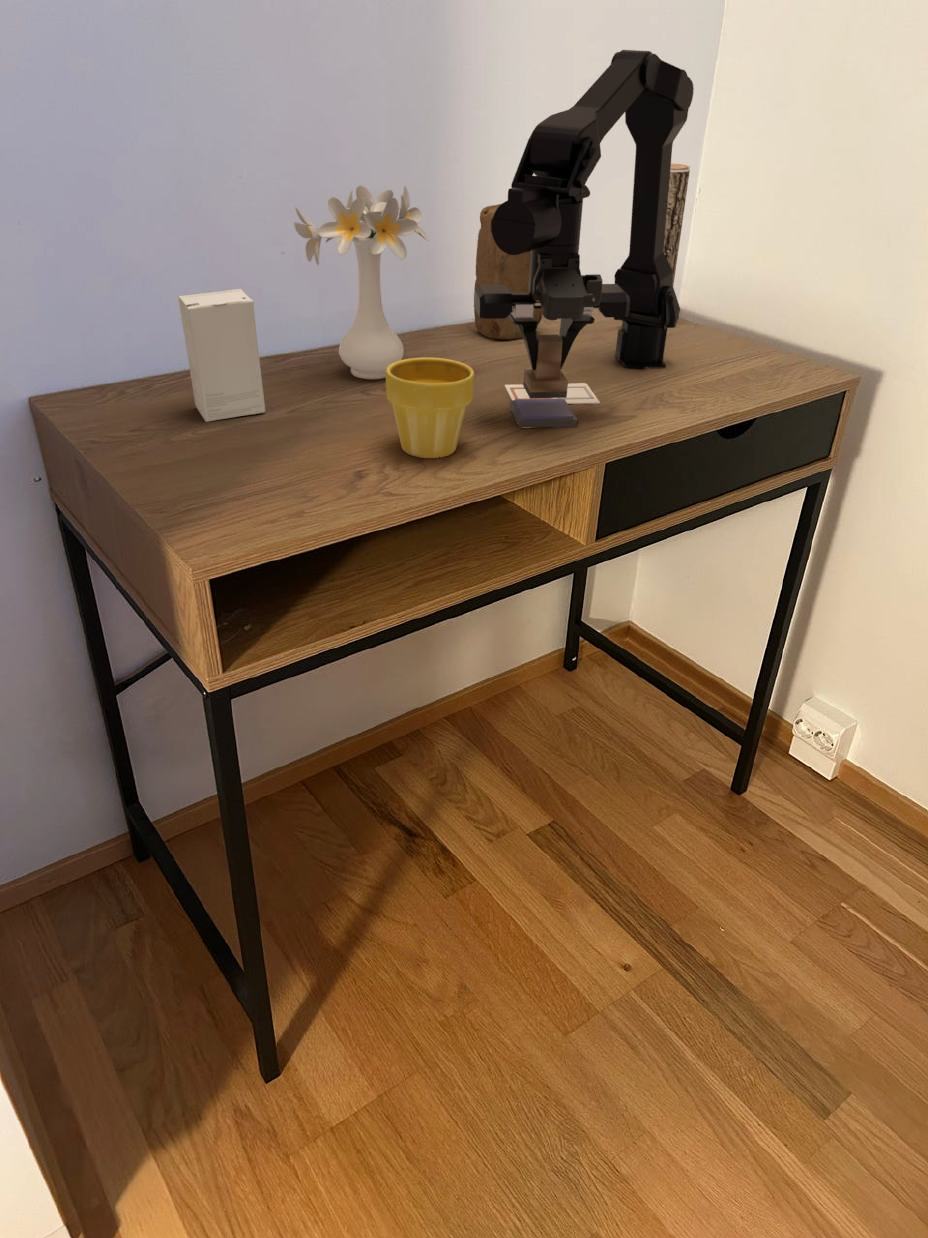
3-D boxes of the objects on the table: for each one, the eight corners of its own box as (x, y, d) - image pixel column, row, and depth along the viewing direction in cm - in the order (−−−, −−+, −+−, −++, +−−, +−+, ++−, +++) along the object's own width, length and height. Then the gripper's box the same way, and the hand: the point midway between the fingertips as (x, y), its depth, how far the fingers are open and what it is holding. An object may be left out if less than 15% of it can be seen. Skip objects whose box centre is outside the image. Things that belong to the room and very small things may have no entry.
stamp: (558, 385, 126) (562, 332, 122) (566, 397, 122) (571, 343, 118) (523, 385, 125) (526, 332, 122) (530, 398, 121) (533, 343, 118)
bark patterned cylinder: (628, 326, 164) (647, 167, 150) (629, 315, 169) (647, 161, 156) (668, 328, 163) (690, 169, 149) (667, 318, 168) (689, 163, 155)
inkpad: (564, 406, 129) (564, 397, 128) (576, 426, 123) (577, 417, 122) (509, 407, 128) (509, 398, 128) (519, 428, 122) (519, 418, 121)
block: (492, 343, 153) (497, 210, 142) (468, 331, 158) (472, 202, 147) (547, 335, 158) (557, 206, 147) (523, 324, 163) (530, 198, 152)
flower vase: (291, 373, 138) (278, 186, 124) (397, 352, 147) (395, 177, 134) (338, 399, 129) (328, 201, 116) (446, 375, 139) (449, 190, 125)
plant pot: (454, 428, 121) (456, 352, 116) (484, 459, 113) (487, 379, 108) (376, 437, 118) (375, 359, 113) (401, 469, 110) (400, 387, 105)
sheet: (586, 384, 137) (586, 382, 137) (599, 403, 130) (600, 401, 130) (504, 385, 136) (504, 383, 135) (514, 405, 129) (514, 403, 129)
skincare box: (254, 400, 128) (243, 286, 120) (267, 414, 124) (256, 298, 116) (192, 408, 125) (176, 292, 117) (202, 423, 120) (187, 304, 112)
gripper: (489, 256, 106) (484, 391, 114) (650, 255, 108) (633, 388, 117) (475, 235, 115) (471, 362, 124) (624, 235, 117) (610, 360, 126)
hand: (546, 368), depth 122 cm, fingers closed on stamp, 3 cm apart
